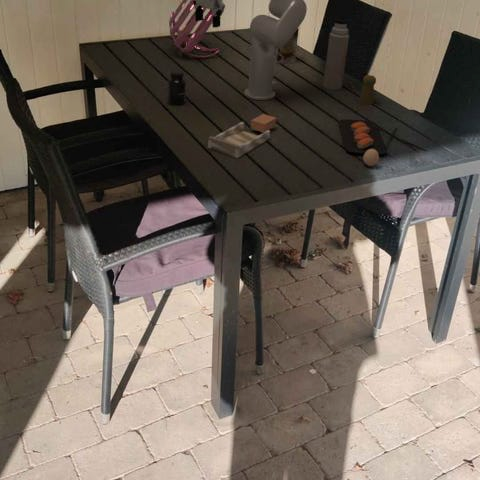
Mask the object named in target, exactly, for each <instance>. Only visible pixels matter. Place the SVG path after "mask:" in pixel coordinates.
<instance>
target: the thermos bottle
mask: <svg viewBox="0 0 480 480" xmlns="http://www.w3.org/2000/svg"><path fill="white" fill-rule="evenodd" d="M347 27H348V20H346V19H339V18H336V19H335V20H334V26H332V29H331V32H329V35H328V36H329V37H328V43H327V45H328V46H327V52H326V53H327V54H326V62H325V70H324V75H323V84H322V86H323V88H325V89H327V90H331V91H335V90H336V91H338V90H341V89H342V87H343V81H344V73H345V67H346V62H347V60H346V59H347V54H348V53H347V52H348V47H349V39H350V35H349V28H347Z"/></svg>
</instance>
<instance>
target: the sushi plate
mask: <svg viewBox="0 0 480 480" xmlns="http://www.w3.org/2000/svg"><path fill="white" fill-rule="evenodd" d="M338 126H339V130H340V133H341V138H342V142H343V147H344V149H345V150H346V151H347V152H348V153H351V154H358V155H359V154H360V155H361V154H362V155H364V154H365V152H366V151H367V150H369V149H374V150H376V151H377V152H378V155H379V156H382V155H385V154H387V148H386V147H387V145H388V143H389V142H390V140H391V139H392V137H393V138H395V139H397V140H400V141H401V142H403V143H405V144H407V145H409V146H412V147H413V148H416V149H419V150H423V151H424V152H428V150H427V149H424V147H423V148H422V147H420V146H418V145H416V144H414V143H411V142H409V141H407V140H404V138H403V139H402V138H400V137H398V136H395V133H396V132H397V130H398V127H395V129H394V130H393V132H392V133H389V132H388V131H385V130H384V129H381V128H379V125H378V124H377V122H374V121H371V120H362V119H345V118H344V119H340V120H339V121H338ZM381 132H382V133H384V134H387V135H389V136H390V137H389V138H388V139H387V141H386V143H385V142H384V139H383V136H382V133H381Z"/></svg>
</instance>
